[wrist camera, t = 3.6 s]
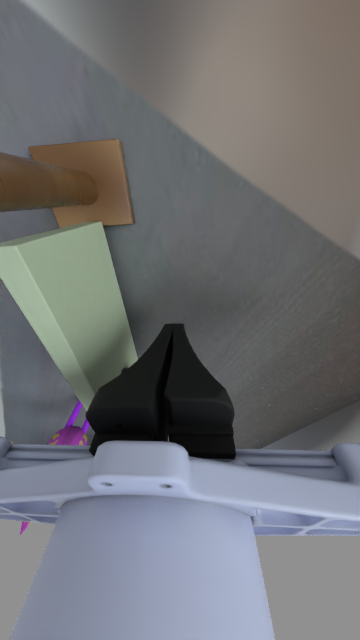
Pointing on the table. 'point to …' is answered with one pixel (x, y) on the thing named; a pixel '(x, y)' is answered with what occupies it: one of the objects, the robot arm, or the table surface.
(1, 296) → the table surface
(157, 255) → the table surface
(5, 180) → the wooden stand
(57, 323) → the door
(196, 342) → the table surface
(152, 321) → the table surface
